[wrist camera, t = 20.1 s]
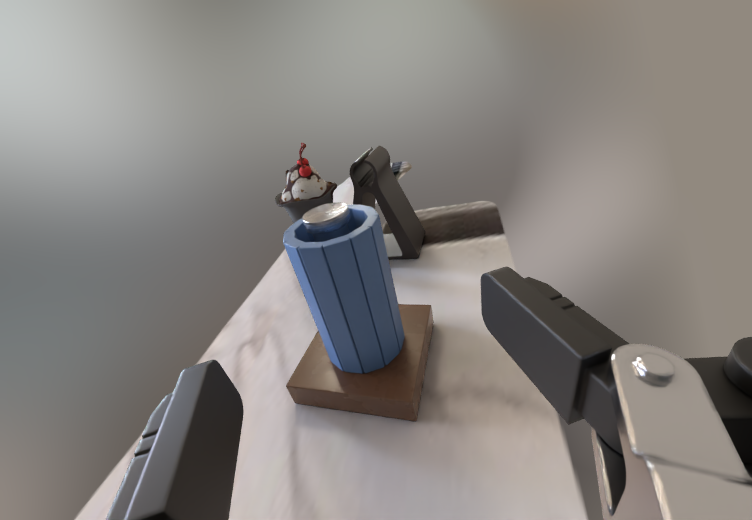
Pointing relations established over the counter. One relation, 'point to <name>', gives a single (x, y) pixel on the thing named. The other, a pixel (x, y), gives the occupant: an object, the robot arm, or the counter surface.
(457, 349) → the counter surface
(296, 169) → the sundae
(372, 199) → the phone stand
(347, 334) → the blue sleeve
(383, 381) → the wooden base post
